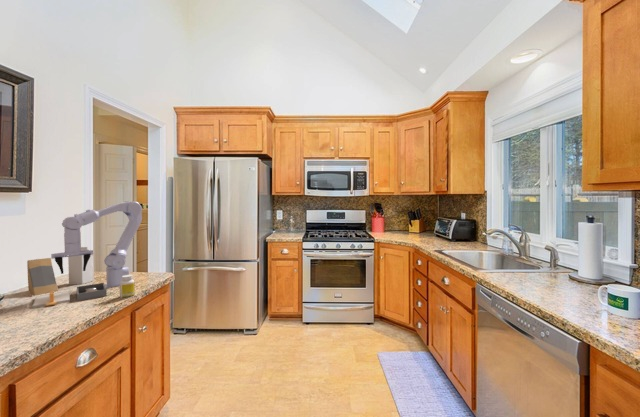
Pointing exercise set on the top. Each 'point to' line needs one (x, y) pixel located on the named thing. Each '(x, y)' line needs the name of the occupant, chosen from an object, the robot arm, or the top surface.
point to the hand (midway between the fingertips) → (73, 272)
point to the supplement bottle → (127, 287)
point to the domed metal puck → (90, 289)
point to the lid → (51, 299)
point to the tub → (90, 295)
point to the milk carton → (80, 269)
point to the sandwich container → (41, 276)
